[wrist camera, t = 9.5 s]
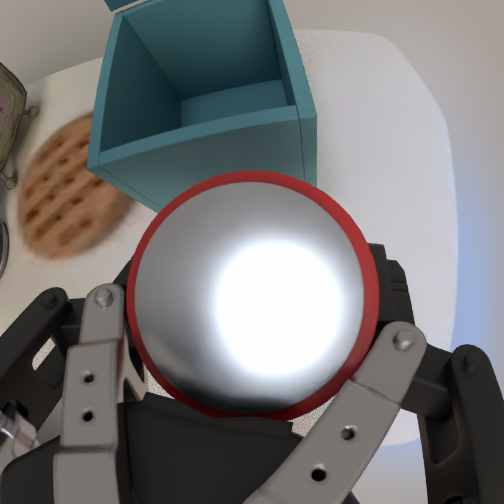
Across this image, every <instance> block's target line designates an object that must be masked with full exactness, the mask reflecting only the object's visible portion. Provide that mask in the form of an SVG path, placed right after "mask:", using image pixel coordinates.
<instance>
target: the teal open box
mask: <svg viewBox="0 0 504 504" xmlns="http://www.w3.org/2000/svg"><path fill="white" fill-rule="evenodd" d="M87 170H88V171H90V172H91V173H93V174H95V175H96V176H98V177H99V178H101V179H103V180H104V181H106V182H107V183H109V184H111V185H112V186H114V187H116V188H117V189H119V190H120V191H122V192H124V193H125V194H127V195H129V196H130V197H132V198H134V199H135V200H137V201H138V202H140V203H142V204H143V205H145V206H147V207H148V208H150V209H152V210H153V211H155V212H157V213H158V214H159V213H160V211H161V210H162V209H163V208H164V207H165V206H166V205H168V204H169V203H170V202H171V201H172V200H173V199H174V198H176V197H177V196H178V195H180V194H181V193H183V192H184V191H185V190H187V189H189V188H191V187H192V186H194V185H196V184H198V183H200V182H202V181H205V180H207V179H210V178H212V177H215V176H219V175H223V174H227V173H231V172H240V171H267V172H274V173H280V174H284V175H288V176H291V177H295V178H297V179H299V180H302V181H304V182H306V183H309V184H311V185H313V186H314V187H316V179H317V114H316V110H315V106H314V103H313V99H312V95H311V91H310V88H309V84H308V80H307V77H306V73H305V70H304V66H303V63H302V59H301V56H300V53H299V50H298V46H297V43H296V40H295V37H294V33H293V30H292V27H291V24H290V21H289V18H288V15H287V12H286V9H285V7H284V4H283V1H282V0H148V1H145V2H143V3H140V4H137V5H135V6H132V7H130V8H127V9H125V10H123V11H120V12H118V13H116V14H115V16H114V19H113V23H112V27H111V30H110V34H109V38H108V42H107V46H106V50H105V55H104V59H103V63H102V68H101V73H100V78H99V83H98V88H97V94H96V100H95V106H94V112H93V119H92V126H91V133H90V141H89V150H88V160H87Z"/></svg>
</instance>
